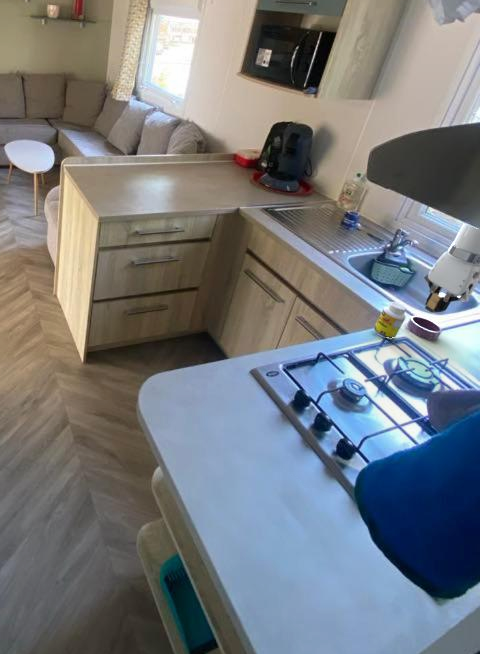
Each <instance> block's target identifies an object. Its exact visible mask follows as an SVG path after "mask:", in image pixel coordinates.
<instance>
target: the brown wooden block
mask: <svg viewBox="0 0 480 654" xmlns="http://www.w3.org/2000/svg"><path fill="white" fill-rule="evenodd" d="M445 295H446V293H445V292H440V293H433V295H432V296H431V298H430V300H429V302H428V303H427V305H425V307H424V309H425V310H427V311H428V312H429V313H437V312H436V311H435V308H436V306H437V305H438V303H439V301H440V300H443V298H444V297H445Z"/></svg>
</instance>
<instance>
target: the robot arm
mask: <svg viewBox="0 0 480 654" xmlns="http://www.w3.org/2000/svg"><path fill="white" fill-rule="evenodd" d="M423 279H424V281H426V283H427V285H428V288H429V290H428V292H429V294H428V296H427V298H426V302H425V304H424V305H425V306H426V305H427V303H428V302H429V300H430V298H431V296H432V295H433V293H441V291H442V290H445V291H446V293H445V294H446V295H445V297H444V298H443V300H440V301H439V303H438V305H437V306H436V308H435V311H436V312H435V313H443V312H445V311H446V310H447V309H448V307H449V306H450V304H451V303H452V302H459V303H460V302H461V303H469V301H470V296H471V295H472V294H473V292H474V290H475V288H476V287H477V284H478V282H479V280H480V229H476V228H474V227H471V226H469V225H466V224H464V223H463V224H462V226H461V228H460V229H459V231H458V233H457V235H456V237H455V238H454V240H453V242H452V243H451V245H450V247H449V248H448V250H446V251H445V252H443V254H441V255H440V256H439V258H438V259H437V260H436V262H434V265H433V266H432V267H431V269H430V270H429V272H428V274H427V275H425V276H424V277H423Z"/></svg>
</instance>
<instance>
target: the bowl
mask: <svg viewBox="0 0 480 654" xmlns="http://www.w3.org/2000/svg"><path fill="white" fill-rule="evenodd" d="M406 325H407V329H408V330H409V332H411V333H412V334H414V335H415V336H417V337H419V338H422V339H424V340H427V341H436V340H438V339H439V338H440V337H441V334H442V333H443V328H442V327H441V326H440V325H439V324H437V323H436V322H435V321H433V320H431V319H428V318H426V317H423V316H419V315H412V316H410V318H409V320H408V321H407V324H406Z"/></svg>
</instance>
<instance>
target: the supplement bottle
mask: <svg viewBox="0 0 480 654" xmlns="http://www.w3.org/2000/svg"><path fill="white" fill-rule="evenodd" d="M406 310H407V307H406V306H404V305H403V304H402V303H399V302H396V301H391V302H390V303H389V305H388V306H384V307H383V309H382V311H381V313H380V315H379V317H378V318H377V321H376V322H375V324H374V326H373V331H374V333H375V334H376V335H377V336H379V337H381V338H383V339H385V337H389V338H392V337H395V338H396V336H397V334H398V333H399V331H400V329H401V327H402V325H403V324H404V322H405V321H406V318H407V315H406V314H405V313H406ZM389 338H387V339H386V340H390V339H389ZM395 338H393V339H392V340H394V339H395Z"/></svg>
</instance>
